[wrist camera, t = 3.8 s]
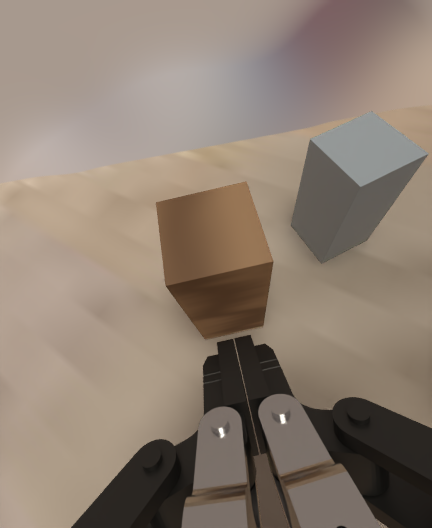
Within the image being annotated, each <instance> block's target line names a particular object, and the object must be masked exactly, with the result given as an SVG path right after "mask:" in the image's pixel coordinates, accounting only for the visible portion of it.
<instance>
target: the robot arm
mask: <svg viewBox="0 0 432 528" xmlns="http://www.w3.org/2000/svg"><path fill="white" fill-rule="evenodd" d="M234 339H235V343H236V347H237V352H238V356H239V361H240V365H241V370H242V374H243V378H244V383H245V387H246V392H247V396H248V400H249V405H250V409H251V413H252V418H253V422H254V427H255V431H256V435H257V440H258V444H259V448H260V453H261V454H264V453H267V457H268V461H269V465H270V469H271V473H272V478H273V481H274V484H275V487H276V491H277V494H278V497H279V500H280V503H281V506H282V509H283V512H284V515H285V518H286V521H287V525H288V528H381V527H380V526H379V524H378V522H377V521H376V519H377V520H379V521H380V522H381V523H383V524H384V525H386V526H387V527H388V528H432V428H429V427H427V426H425V425H422V424H420V423H418V422H416V421H413V420H411V419H409V418H407V417H404V416H402V415H400V414H397V413H395V412H393V411H391V410H388V409H386V408H384V407H381V406H379V405H377V404H375V403H372V402H370V401H368V400H365V399H362V398H356V397H350V398H344V399H342V400H340V401H338V402H337V403H336V404H335V405H334V407H333V410H320V409H313V408H309V407H307V406H305V405H303V404H301V403H300V402H299V401H298V400H297V399H296V398H295V397H294V396H293V394H292V391H291V389H290V387H289V385H288V382H287V380H286V378H285V376H284V373H283V371H282V369H281V367H280V364H279V362H278V360H277V358H276V355H275V353H274V351H273V349H271V348H270V347H269V346H267V345H266V344H261V345H257V346H254V344H253V341H252V338H251V335H247V336H243V337H239V338H234ZM217 347H218V355H213V356H209V357H207V359H206V361H205V363H204V365H203V376H204V377H203V383H204V385H203V386H204V416H203V418H202V419H201V421H200V423H199V428H198V430H197V432H196V433H195V434H194V435H192V436H191V437H190V438H188V439H187V440H185V441H183V442H181V443H179V444H178V445H176V446H174V445H173V444H172V443H171V442H169V441H167V440H164V439H159V440H154V441H151V442H149V443H147V444H146V445H144V446H143V447H142V448H141V449H140V450H139V451H138V452H137V453H136V454H135V455H134V456H133V457H132V459H131V460H130V461H129V462H128V463H127V464H126V465H125V467H124V468H123V469H122V470H121V471H120V472H119V473H118V475H117V476H116V477H115V478H114V479H113V480H112V481H111V483H110V484H109V485H108V486H107V487H106V488H105V490H104V491H103V492H102V493H101V494H100V495H99V496H98V498H97V499H96V500H95V501H94V502H93V503H92V504H91V506H90V507H89V508H88V509H87V510H86V511H85V512H84V514H83V515H82V516H81V517H80V518H79V519H78V520H77V522H76V523H75V524H74V525H73V526H72V527H71V528H262V521H261V513H260V505H259V497H258V488H257V481H256V468H255V463H254V458H253V456H256V455H259V453H258V448H257V444H256V439H255V434H254V430H253V425H252V421H251V416H250V412H249V407H248V403H247V398H246V393H245V389H244V384H243V380H242V375H241V371H240V367H239V362H238V358H237V354H236V349H235V345H234V341H233V339H230V340H226V341H221V342H217ZM375 518H376V519H375Z"/></svg>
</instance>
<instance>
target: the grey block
mask: <svg viewBox="0 0 432 528" xmlns="http://www.w3.org/2000/svg"><path fill="white" fill-rule="evenodd" d="M428 154H429V153H427V152H426V151H425V150H423V149H422V148H421V147H419V146H418V145H417V144H415V143H414V142H412V141H411V140H410V139H408V138H407V137H406V136H404V135H403V134H402V133H400V132H399V131H398V130H396V129H395V128H394V127H392V126H391V125H390V124H388V123H387V122H386V121H384V120H383V119H382V118H380V117H379V116H378V115H376V114H375V113H373V112H372V111H371V112H369V113H366V114H364V115H362V116H360V117H358V118H355V119H353V120H351V121H349V122H347V123H344V124H342V125H340V126H338V127H336V128H333V129H331V130H329V131H327V132H325V133H322V134H320V135H318V136H316V137H314V138H311V139H310V142H309V146H308V151H307V155H306V160H305V164H304V169H303V173H302V178H301V182H300V187H299V191H298V195H297V200H296V204H295V209H294V213H293V218H292V222H291V226H292V227H293V228H294V230H295V231H296V232H297V233H298V235H299V236H300V237H301V238H302V240H303V241H304V242H305V244H306V245H307V246H308V247H309V249H310V250H311V251H312V252H313V254H314V255H315V256H316V257H317V259H318V260H319V261H320V262H321V264H322V263H324V262H326V261H328V260H330V259H332V258H334V257H336V256H337V255H339V254H341V253H343V252H345V251H347V250H349V249H351V248H353V247H355V246H357V245H359V244H361V243H363V242H365V241H366V240H367V239H368V238H369V237H370V235H371V234H372V232H373V231H374V230H375V228H376V227H377V225H378V224H379V223H380V221H381V220H382V218H383V217H384V216H385V214H386V213H387V211H388V210H389V209H390V207H391V206H392V204H393V203H394V202H395V200H396V199H397V197H398V196H399V195H400V193H401V192H402V190H403V189H404V188H405V186H406V185H407V183H408V182H409V181H410V179H411V178H412V176H413V175H414V174H415V172H416V171H417V169H418V168H419V167H420V165H421V164H422V162H423V161H424V160H425V158H426V157H427V155H428Z"/></svg>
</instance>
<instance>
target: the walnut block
mask: <svg viewBox="0 0 432 528" xmlns="http://www.w3.org/2000/svg"><path fill="white" fill-rule="evenodd" d="M156 207H157V215H158V224H159V233H160V241H161V250H162V258H163V267H164V276H165V284H166V287H167V288H168V290H169V291H170V292H171V294H172V295H173V297H174V298H175V299H176V301H177V302H178V303H179V305H180V306H181V307H182V309H183V310H184V311H185V313H186V314H187V316H188V317H189V318H190V320H191V321H192V322H193V324H194V325H195V326H196V328H197V329H198V330H199V332H200V333H201V334H202V336H203V337H204V339H205V340H207V339H211V338H216V337H220V336H225V335H229V334H233V333H238V332H242V331H247V330H251V329H256V328H260V327H263V324H264V318H265V311H266V305H267V299H268V292H269V286H270V280H271V273H272V267H273V259H272V256H271V253H270V250H269V247H268V244H267V241H266V238H265V235H264V232H263V229H262V226H261V223H260V220H259V217H258V214H257V212H256V209H255V206H254V203H253V200H252V197H251V194H250V191H249V188H248V185H247V182H242V183H238V184H233V185H229V186H225V187H220V188H216V189H212V190H208V191H203V192H199V193H195V194H190V195H186V196H182V197H178V198H173V199H169V200H165V201H160V202H156Z"/></svg>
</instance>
